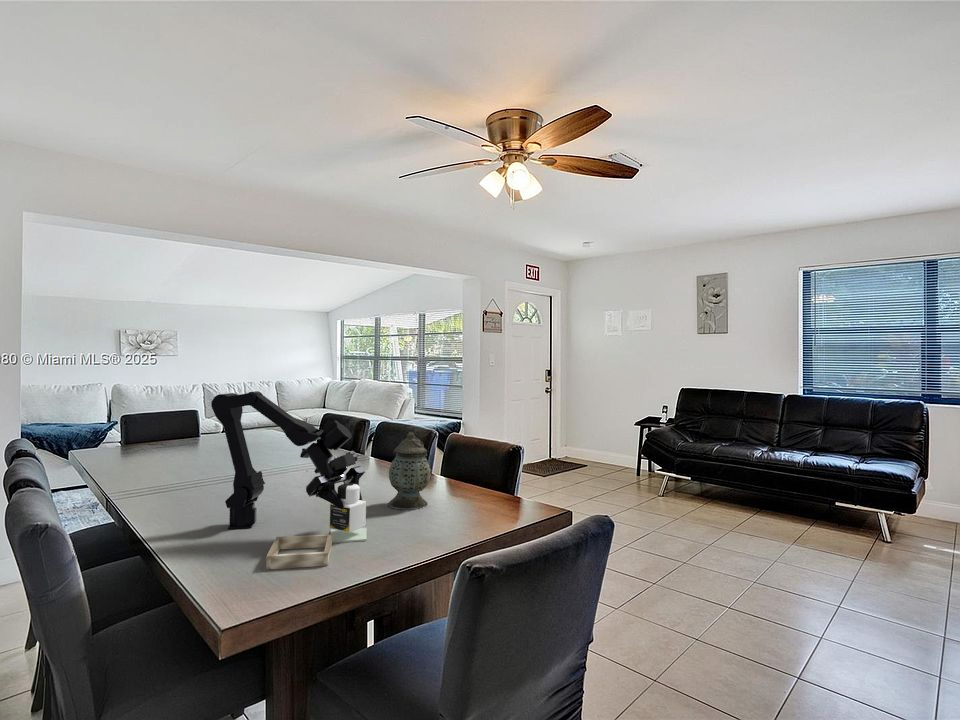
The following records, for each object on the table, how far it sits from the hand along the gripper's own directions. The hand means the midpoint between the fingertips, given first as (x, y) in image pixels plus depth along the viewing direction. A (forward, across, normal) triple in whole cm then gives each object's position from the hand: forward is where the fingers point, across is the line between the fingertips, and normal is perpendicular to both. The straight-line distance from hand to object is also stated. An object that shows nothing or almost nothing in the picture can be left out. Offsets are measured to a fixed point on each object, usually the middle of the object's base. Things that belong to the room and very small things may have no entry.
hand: (352, 504), depth 148 cm
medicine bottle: (+4, 0, +6) cm, 7 cm away
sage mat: (+6, 0, +7) cm, 9 cm away
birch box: (+6, -18, +7) cm, 20 cm away
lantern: (+3, +34, +10) cm, 36 cm away
